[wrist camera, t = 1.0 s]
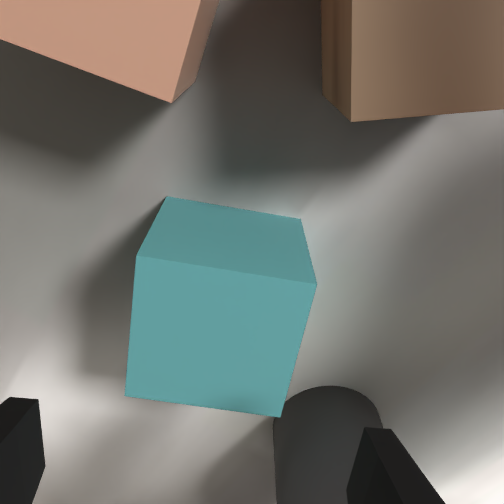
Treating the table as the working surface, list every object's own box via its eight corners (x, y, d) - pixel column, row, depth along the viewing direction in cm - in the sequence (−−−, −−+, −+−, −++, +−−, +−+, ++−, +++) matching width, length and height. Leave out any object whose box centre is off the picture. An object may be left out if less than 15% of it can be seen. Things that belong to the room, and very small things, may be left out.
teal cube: (300, 218, 18) (316, 284, 13) (273, 328, 20) (280, 417, 15) (167, 195, 17) (136, 255, 13) (154, 309, 19) (124, 396, 15)
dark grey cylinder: (393, 394, 21) (432, 493, 17) (362, 470, 23) (389, 577, 19) (285, 378, 21) (294, 476, 16) (263, 457, 23) (266, 563, 18)
